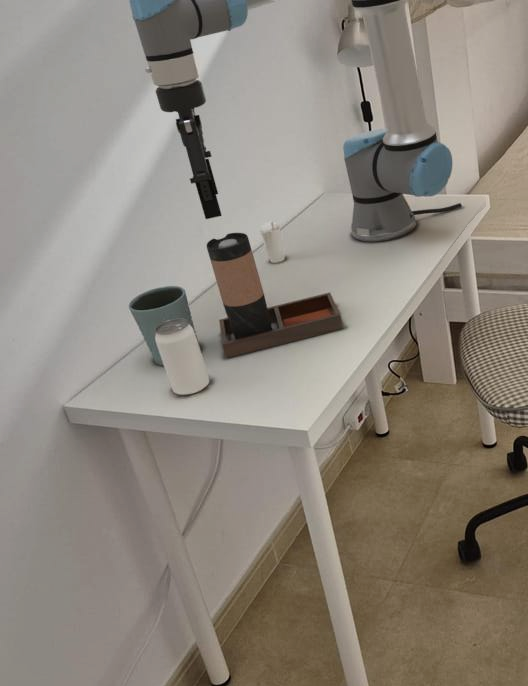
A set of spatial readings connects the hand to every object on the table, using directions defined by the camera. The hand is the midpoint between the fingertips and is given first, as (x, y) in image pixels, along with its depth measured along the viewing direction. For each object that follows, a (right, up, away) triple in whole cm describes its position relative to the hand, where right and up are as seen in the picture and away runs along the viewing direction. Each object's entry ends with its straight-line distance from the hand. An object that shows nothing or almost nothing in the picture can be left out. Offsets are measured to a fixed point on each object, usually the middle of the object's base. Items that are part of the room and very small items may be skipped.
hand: (212, 205), depth 154 cm
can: (-3, -32, -1) cm, 32 cm away
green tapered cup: (-10, -26, +10) cm, 30 cm away
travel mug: (+5, -23, +12) cm, 27 cm away
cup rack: (+10, -22, +13) cm, 27 cm away
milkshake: (+2, -5, +46) cm, 46 cm away
